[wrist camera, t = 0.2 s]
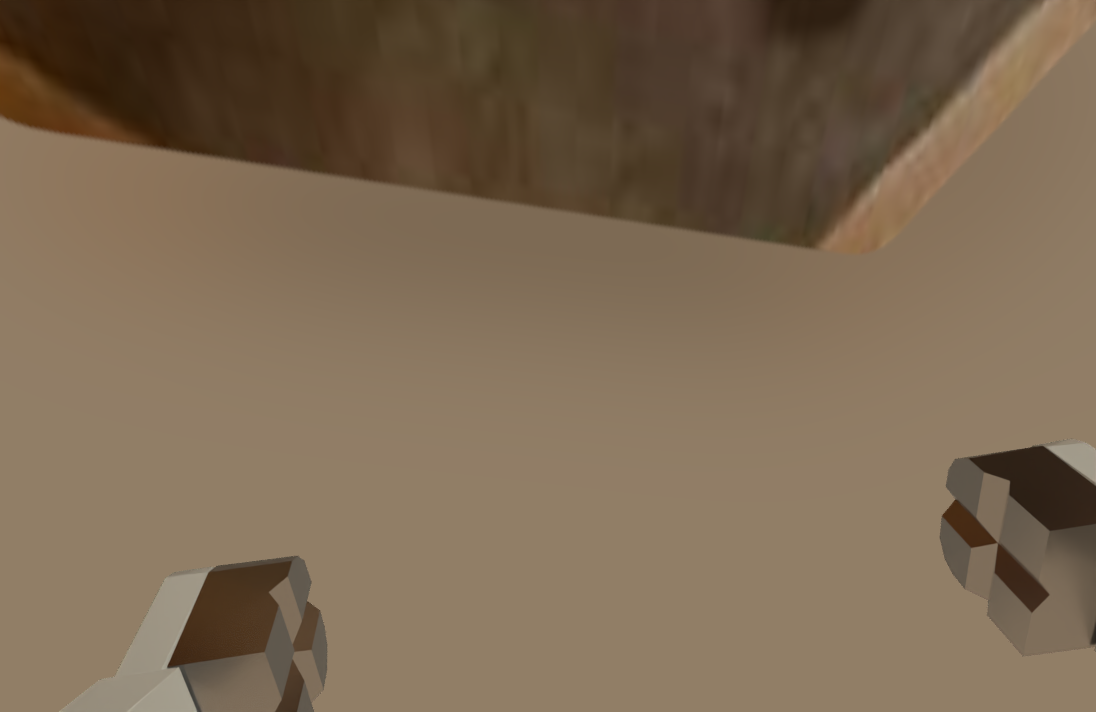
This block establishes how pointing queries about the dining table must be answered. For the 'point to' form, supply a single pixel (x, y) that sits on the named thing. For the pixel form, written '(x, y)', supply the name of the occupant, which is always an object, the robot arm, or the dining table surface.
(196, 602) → the robot arm
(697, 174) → the dining table surface
